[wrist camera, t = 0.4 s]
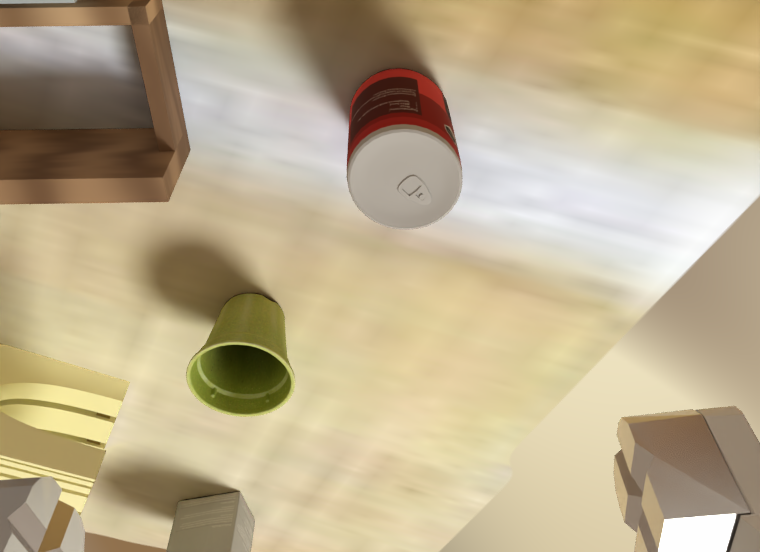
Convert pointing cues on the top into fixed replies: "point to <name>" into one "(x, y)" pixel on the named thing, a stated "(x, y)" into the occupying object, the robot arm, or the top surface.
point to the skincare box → (212, 525)
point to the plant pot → (244, 360)
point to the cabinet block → (35, 1)
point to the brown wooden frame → (101, 146)
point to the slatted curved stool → (55, 421)
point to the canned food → (402, 151)
